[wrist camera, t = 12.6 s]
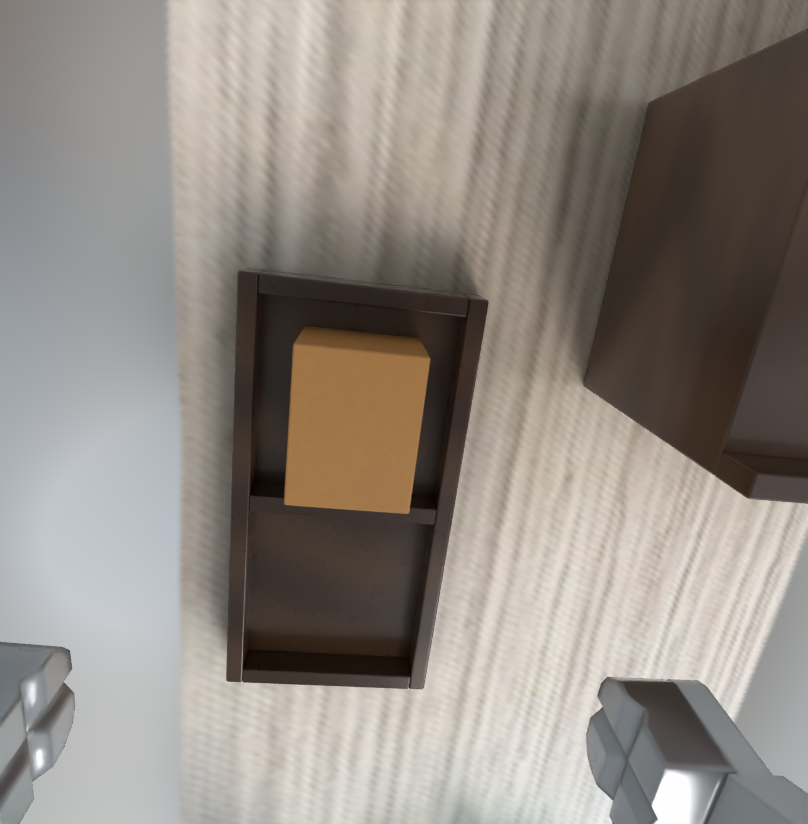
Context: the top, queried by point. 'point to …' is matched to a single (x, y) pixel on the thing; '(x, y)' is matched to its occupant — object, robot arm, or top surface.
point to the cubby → (718, 276)
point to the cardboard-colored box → (354, 420)
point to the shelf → (339, 528)
